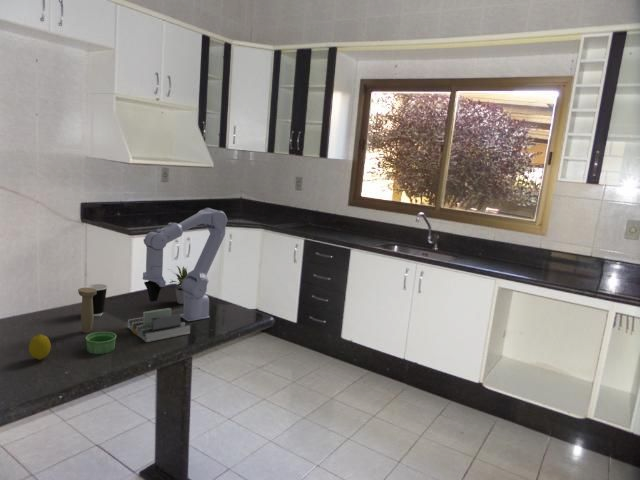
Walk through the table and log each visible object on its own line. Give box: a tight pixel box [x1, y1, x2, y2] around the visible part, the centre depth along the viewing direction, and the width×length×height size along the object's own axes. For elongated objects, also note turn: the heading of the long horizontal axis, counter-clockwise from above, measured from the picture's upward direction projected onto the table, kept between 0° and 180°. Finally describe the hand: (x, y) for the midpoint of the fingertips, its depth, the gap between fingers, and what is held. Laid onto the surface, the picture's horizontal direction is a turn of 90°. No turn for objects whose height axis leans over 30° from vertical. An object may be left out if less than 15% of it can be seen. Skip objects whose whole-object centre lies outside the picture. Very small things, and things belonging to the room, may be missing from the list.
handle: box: [77, 287, 97, 334], centre depth 162 cm, size 5×6×15 cm
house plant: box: [168, 265, 188, 305], centre depth 202 cm, size 14×14×16 cm
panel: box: [142, 307, 173, 325], centre depth 170 cm, size 10×2×6 cm, turn 133°
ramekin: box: [84, 331, 117, 355], centre depth 150 cm, size 9×9×4 cm
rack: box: [127, 313, 191, 343], centre depth 169 cm, size 16×16×7 cm
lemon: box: [28, 333, 52, 361], centre depth 139 cm, size 6×6×8 cm
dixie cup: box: [84, 283, 108, 317], centre depth 179 cm, size 8×8×11 cm
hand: (153, 300), depth 173 cm, fingers closed
